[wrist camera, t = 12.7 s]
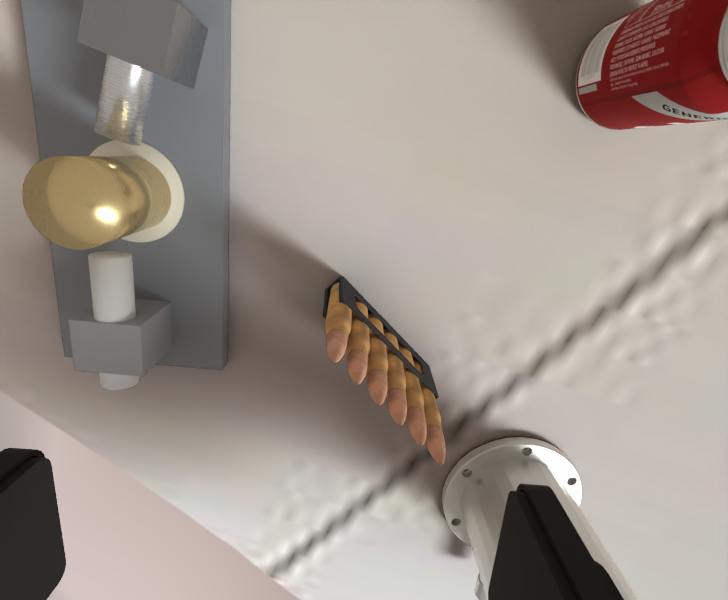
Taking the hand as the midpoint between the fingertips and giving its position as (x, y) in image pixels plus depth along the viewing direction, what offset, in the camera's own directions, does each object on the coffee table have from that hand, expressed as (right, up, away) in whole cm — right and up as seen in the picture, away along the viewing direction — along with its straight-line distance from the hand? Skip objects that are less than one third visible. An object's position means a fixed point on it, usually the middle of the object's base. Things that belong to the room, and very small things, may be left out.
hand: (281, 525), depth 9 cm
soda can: (+19, +20, +20) cm, 34 cm away
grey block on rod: (-11, +19, +18) cm, 29 cm away
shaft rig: (-14, +12, +22) cm, 29 cm away
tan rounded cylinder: (-14, +12, +20) cm, 27 cm away
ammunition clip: (+3, +2, +26) cm, 26 cm away
